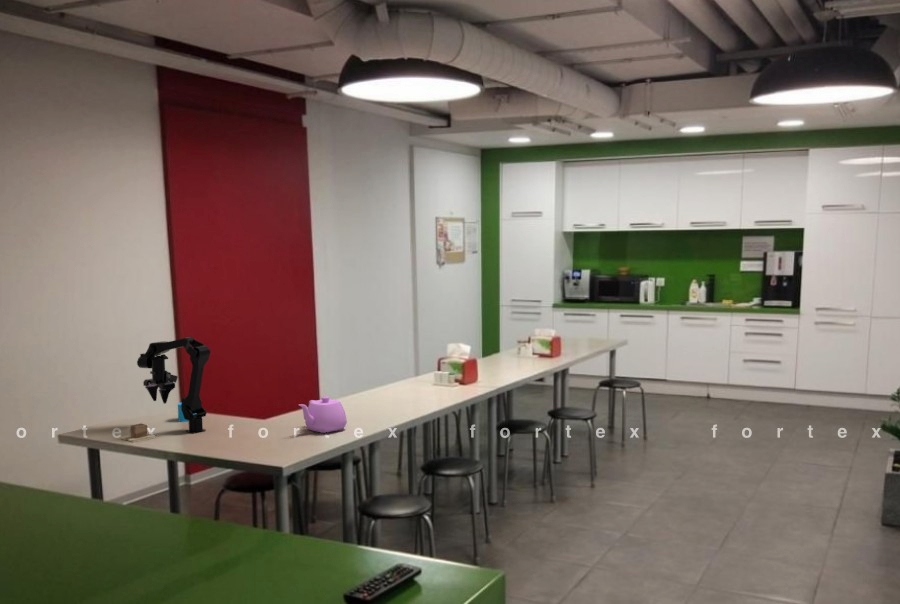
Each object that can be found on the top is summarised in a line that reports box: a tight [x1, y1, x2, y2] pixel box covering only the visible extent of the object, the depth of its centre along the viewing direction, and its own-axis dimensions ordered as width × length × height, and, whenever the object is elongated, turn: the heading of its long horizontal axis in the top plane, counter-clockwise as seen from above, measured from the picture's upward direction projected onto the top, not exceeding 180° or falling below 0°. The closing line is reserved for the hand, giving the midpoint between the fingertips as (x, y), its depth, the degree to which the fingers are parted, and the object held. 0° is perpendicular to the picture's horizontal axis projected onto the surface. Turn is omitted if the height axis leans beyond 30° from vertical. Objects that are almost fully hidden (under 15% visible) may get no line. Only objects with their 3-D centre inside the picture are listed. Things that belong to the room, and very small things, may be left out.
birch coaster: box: [121, 432, 156, 443], centre depth 314 cm, size 10×10×1 cm
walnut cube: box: [129, 422, 148, 438], centre depth 314 cm, size 5×5×5 cm
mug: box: [177, 402, 196, 423], centre depth 351 cm, size 12×8×8 cm
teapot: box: [298, 395, 348, 434], centre depth 323 cm, size 23×21×15 cm
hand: (159, 402), depth 332 cm, fingers open, 9 cm apart
